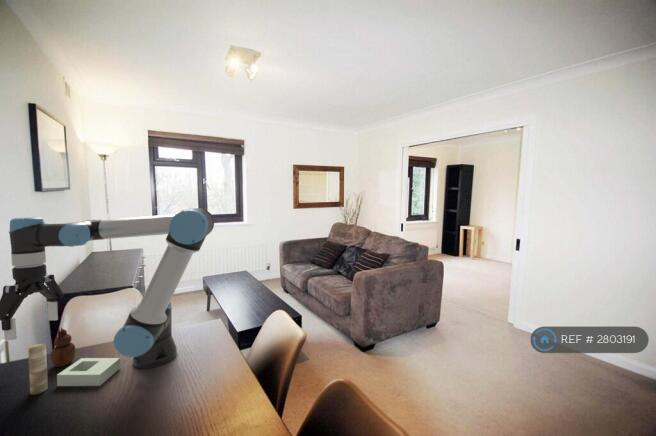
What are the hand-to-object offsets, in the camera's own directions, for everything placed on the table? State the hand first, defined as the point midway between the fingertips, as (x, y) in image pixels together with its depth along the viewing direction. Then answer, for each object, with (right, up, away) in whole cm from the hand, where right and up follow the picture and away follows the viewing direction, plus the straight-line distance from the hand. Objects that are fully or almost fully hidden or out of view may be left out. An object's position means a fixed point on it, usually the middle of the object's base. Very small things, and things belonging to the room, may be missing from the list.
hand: (33, 329), depth 91 cm
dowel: (+1, -21, +1) cm, 21 cm away
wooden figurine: (-5, -20, +15) cm, 26 cm away
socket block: (+12, -21, +8) cm, 25 cm away
